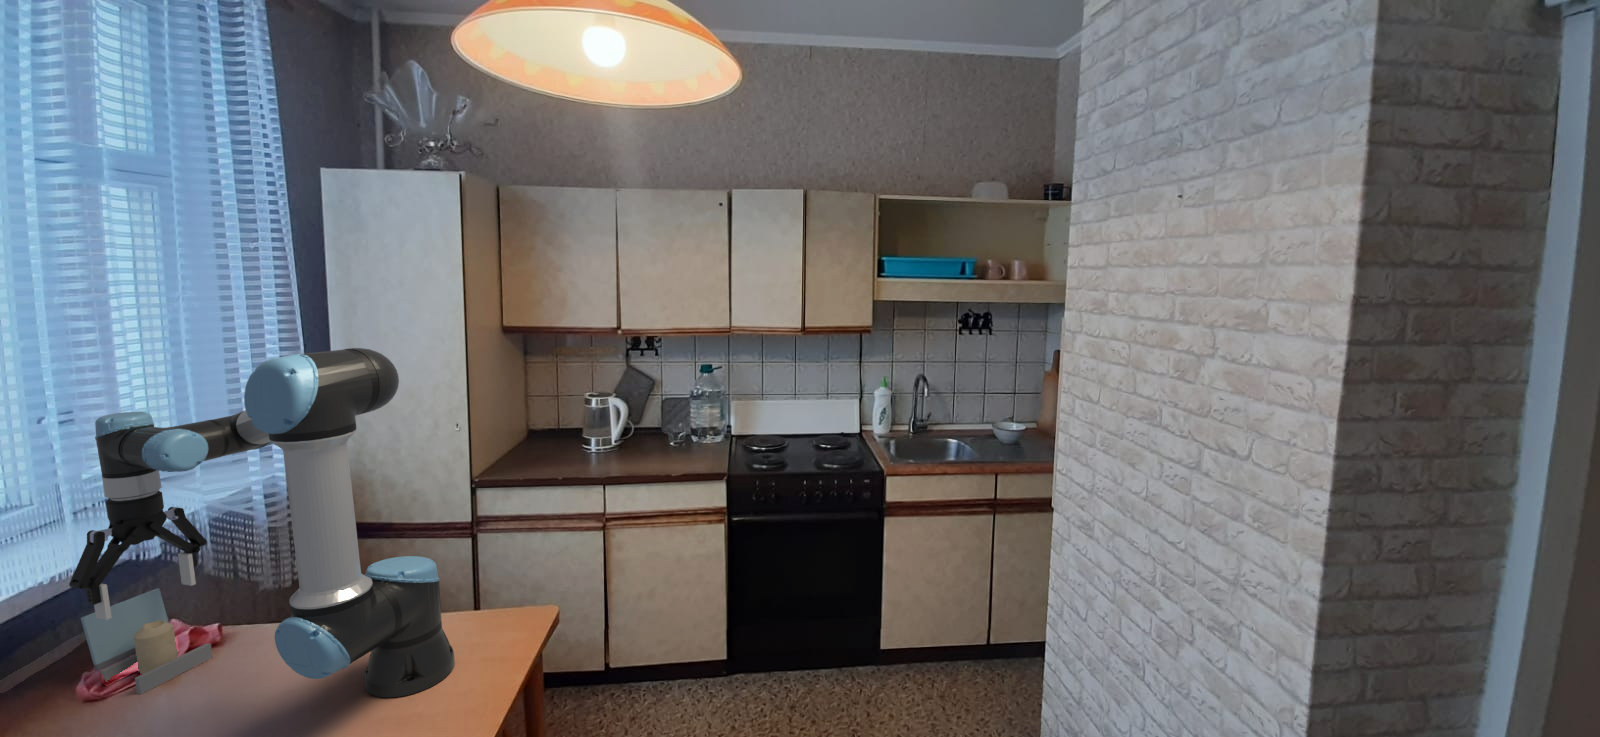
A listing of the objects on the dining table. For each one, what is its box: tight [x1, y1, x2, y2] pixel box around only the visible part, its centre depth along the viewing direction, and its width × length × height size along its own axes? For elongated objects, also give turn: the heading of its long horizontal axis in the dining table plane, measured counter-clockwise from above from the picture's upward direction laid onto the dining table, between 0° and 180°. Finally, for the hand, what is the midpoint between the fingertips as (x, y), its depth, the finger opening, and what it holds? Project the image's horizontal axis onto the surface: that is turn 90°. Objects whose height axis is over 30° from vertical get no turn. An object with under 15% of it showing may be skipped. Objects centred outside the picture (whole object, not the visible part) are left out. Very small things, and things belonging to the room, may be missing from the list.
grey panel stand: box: [99, 642, 213, 695], centre depth 128 cm, size 10×12×3 cm
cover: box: [80, 587, 170, 672], centre depth 129 cm, size 11×12×1 cm
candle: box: [134, 620, 178, 674], centre depth 128 cm, size 6×6×10 cm
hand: (148, 600), depth 126 cm, fingers open, 13 cm apart
